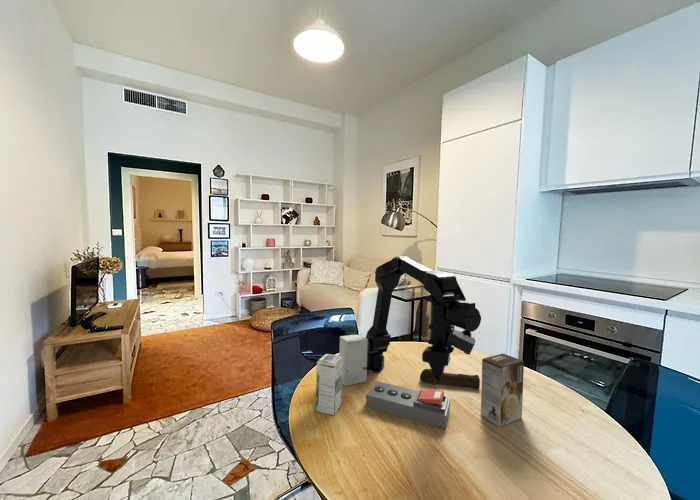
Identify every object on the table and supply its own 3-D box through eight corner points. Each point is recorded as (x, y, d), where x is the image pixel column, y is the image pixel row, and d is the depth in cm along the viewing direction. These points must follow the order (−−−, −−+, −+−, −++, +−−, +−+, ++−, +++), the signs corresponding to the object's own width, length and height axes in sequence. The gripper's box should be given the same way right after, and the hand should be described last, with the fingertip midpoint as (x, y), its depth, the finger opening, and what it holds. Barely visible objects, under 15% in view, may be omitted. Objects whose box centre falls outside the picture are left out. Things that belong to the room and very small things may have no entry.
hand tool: (477, 384, 100) (478, 371, 100) (480, 390, 96) (480, 376, 96) (419, 378, 104) (420, 365, 104) (420, 383, 100) (420, 370, 100)
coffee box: (501, 406, 87) (503, 352, 86) (522, 418, 81) (525, 360, 80) (479, 414, 83) (481, 358, 82) (500, 428, 77) (503, 367, 76)
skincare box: (344, 386, 97) (345, 341, 96) (337, 378, 102) (338, 335, 102) (367, 382, 100) (368, 338, 99) (360, 374, 106) (360, 332, 105)
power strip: (365, 406, 86) (366, 391, 85) (376, 391, 94) (377, 377, 93) (445, 428, 76) (446, 411, 76) (449, 410, 84) (450, 395, 84)
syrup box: (323, 401, 88) (324, 352, 87) (342, 405, 86) (343, 355, 85) (315, 411, 83) (315, 360, 82) (334, 416, 81) (335, 363, 80)
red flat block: (418, 403, 81) (418, 398, 81) (422, 394, 85) (421, 389, 85) (441, 404, 78) (440, 399, 78) (444, 395, 83) (443, 390, 83)
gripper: (471, 335, 68) (469, 402, 69) (475, 316, 85) (473, 369, 86) (422, 328, 73) (420, 390, 74) (435, 311, 90) (433, 362, 90)
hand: (439, 377), depth 81 cm, fingers open, 4 cm apart
